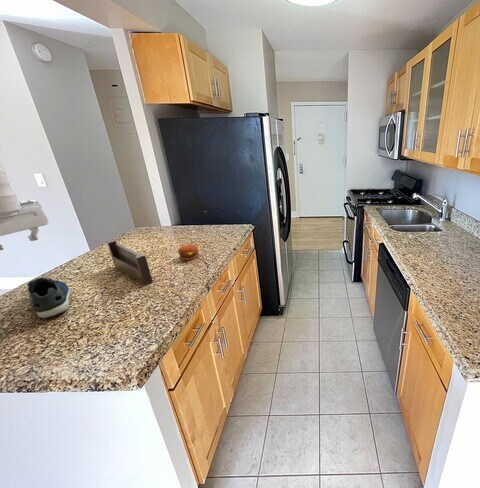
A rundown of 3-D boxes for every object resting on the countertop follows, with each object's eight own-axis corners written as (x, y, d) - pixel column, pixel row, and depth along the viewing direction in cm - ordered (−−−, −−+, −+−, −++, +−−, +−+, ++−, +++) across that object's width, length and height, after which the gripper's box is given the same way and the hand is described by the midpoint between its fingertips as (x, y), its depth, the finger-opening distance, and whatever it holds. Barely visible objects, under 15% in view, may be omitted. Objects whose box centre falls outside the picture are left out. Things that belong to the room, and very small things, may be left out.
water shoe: (66, 283, 112) (55, 259, 108) (81, 309, 95) (69, 282, 91) (31, 294, 105) (18, 269, 101) (41, 324, 88) (26, 295, 83)
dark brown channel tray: (145, 285, 111) (136, 258, 106) (115, 266, 128) (106, 242, 123) (153, 282, 113) (145, 255, 108) (122, 264, 130) (114, 240, 125)
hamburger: (187, 252, 143) (185, 241, 140) (203, 254, 141) (201, 242, 139) (175, 260, 134) (172, 248, 132) (192, 261, 132) (189, 249, 130)
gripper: (31, 198, 94) (46, 234, 99) (-56, 212, 75) (-32, 255, 81) (44, 199, 93) (59, 235, 98) (-40, 214, 74) (-17, 257, 79)
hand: (17, 245), depth 89 cm, fingers open, 8 cm apart
